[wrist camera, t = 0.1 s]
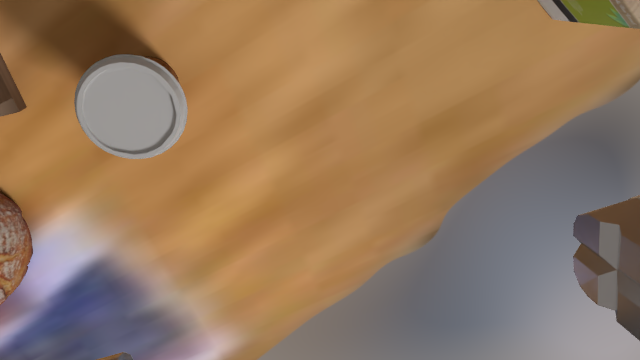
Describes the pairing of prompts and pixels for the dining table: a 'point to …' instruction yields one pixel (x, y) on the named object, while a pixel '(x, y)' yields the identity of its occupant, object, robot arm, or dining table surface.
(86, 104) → the disposable coffee cup
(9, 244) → the bread
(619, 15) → the tea box
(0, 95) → the ridge stand
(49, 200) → the dining table surface
